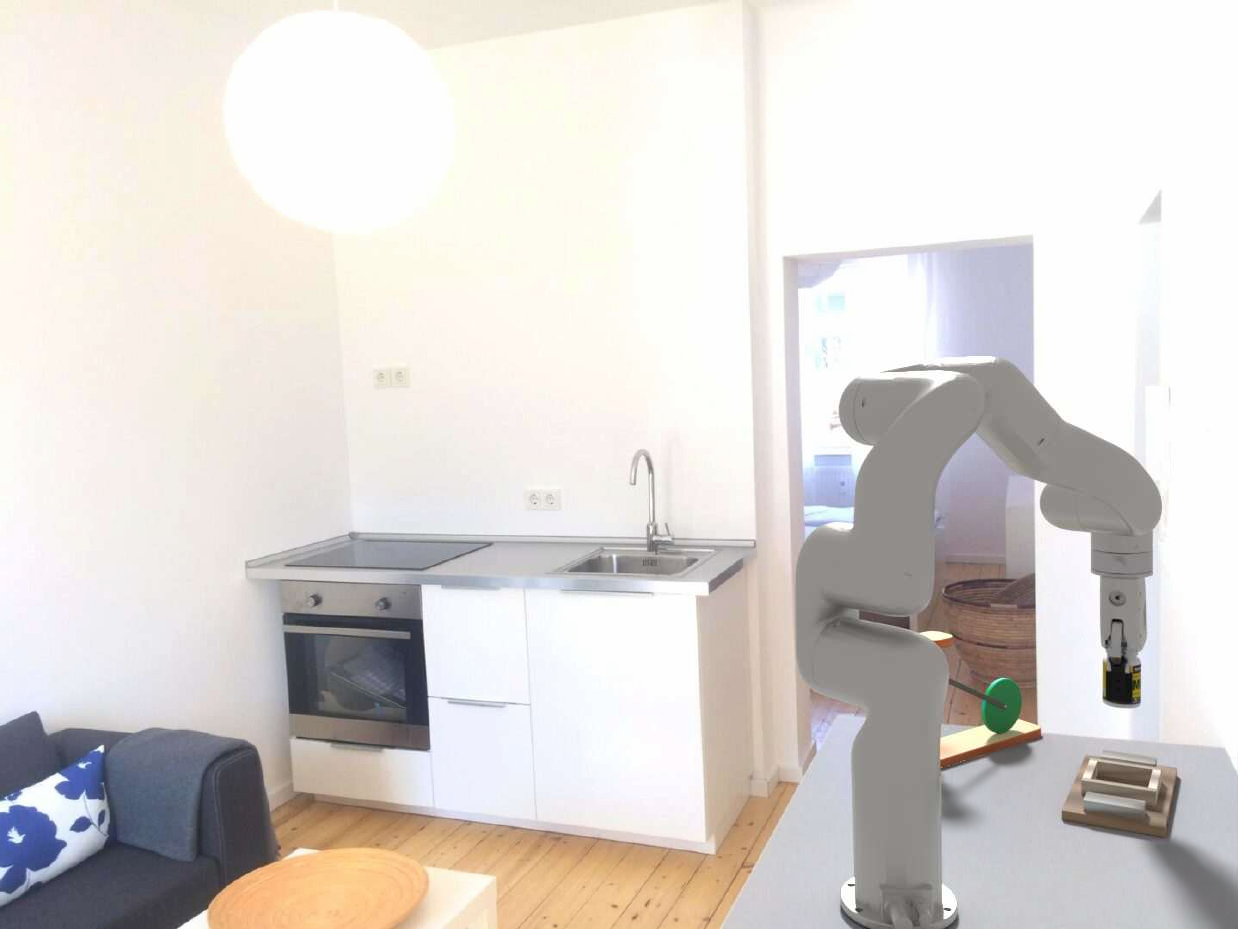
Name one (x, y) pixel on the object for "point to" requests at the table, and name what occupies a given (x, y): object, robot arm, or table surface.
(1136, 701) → the supplement bottle
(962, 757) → the crank mechanism
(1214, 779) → the table surface
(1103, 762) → the jig board
